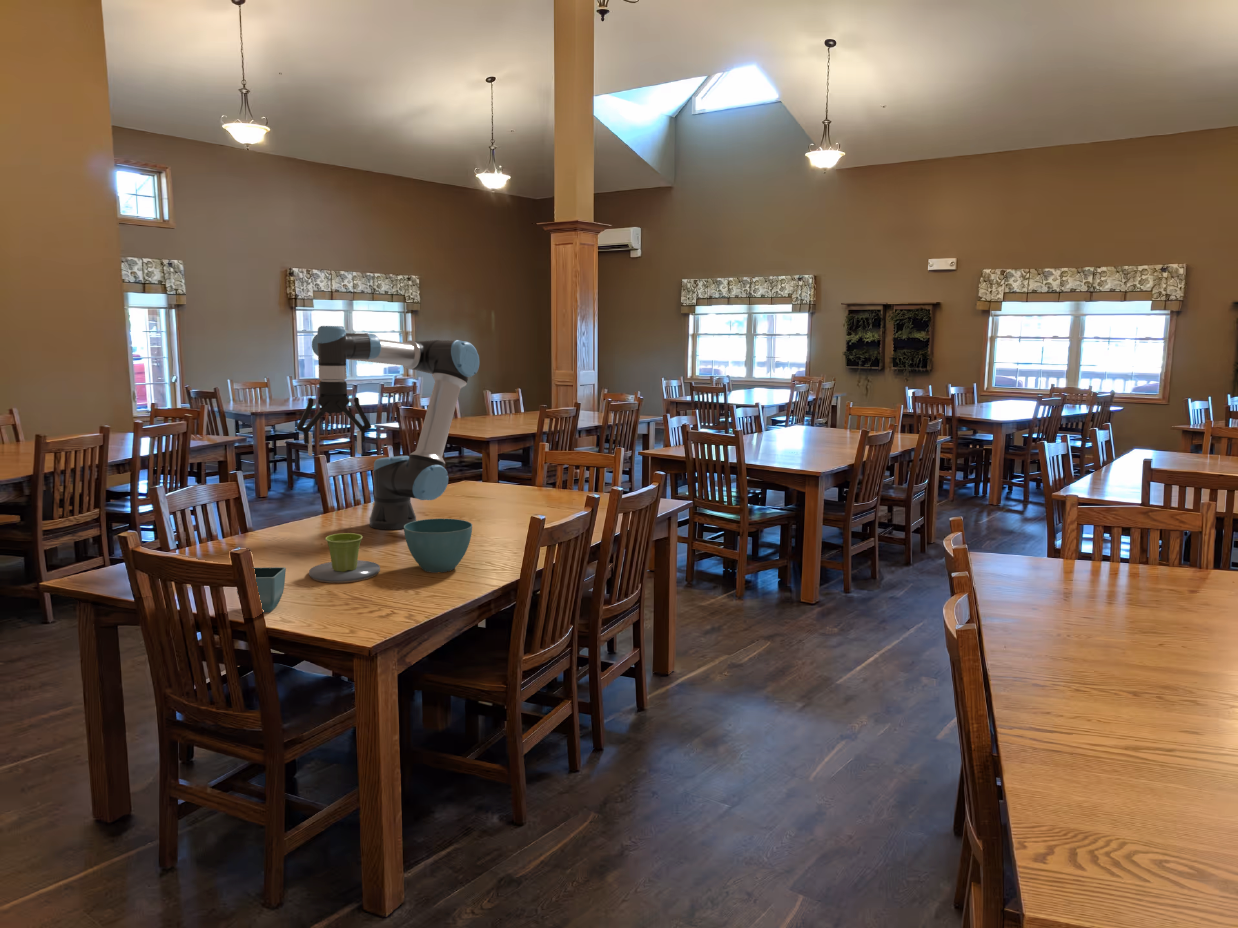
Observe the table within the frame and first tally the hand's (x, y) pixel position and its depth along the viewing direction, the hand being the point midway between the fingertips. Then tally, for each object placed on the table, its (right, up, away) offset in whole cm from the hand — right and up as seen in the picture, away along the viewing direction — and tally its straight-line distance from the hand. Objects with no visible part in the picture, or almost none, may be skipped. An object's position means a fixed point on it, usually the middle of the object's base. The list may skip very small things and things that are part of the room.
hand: (335, 454), depth 241 cm
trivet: (+9, -32, -19) cm, 38 cm away
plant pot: (+9, -31, -18) cm, 37 cm away
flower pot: (0, -37, -49) cm, 61 cm away
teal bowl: (+33, -32, -12) cm, 47 cm away
